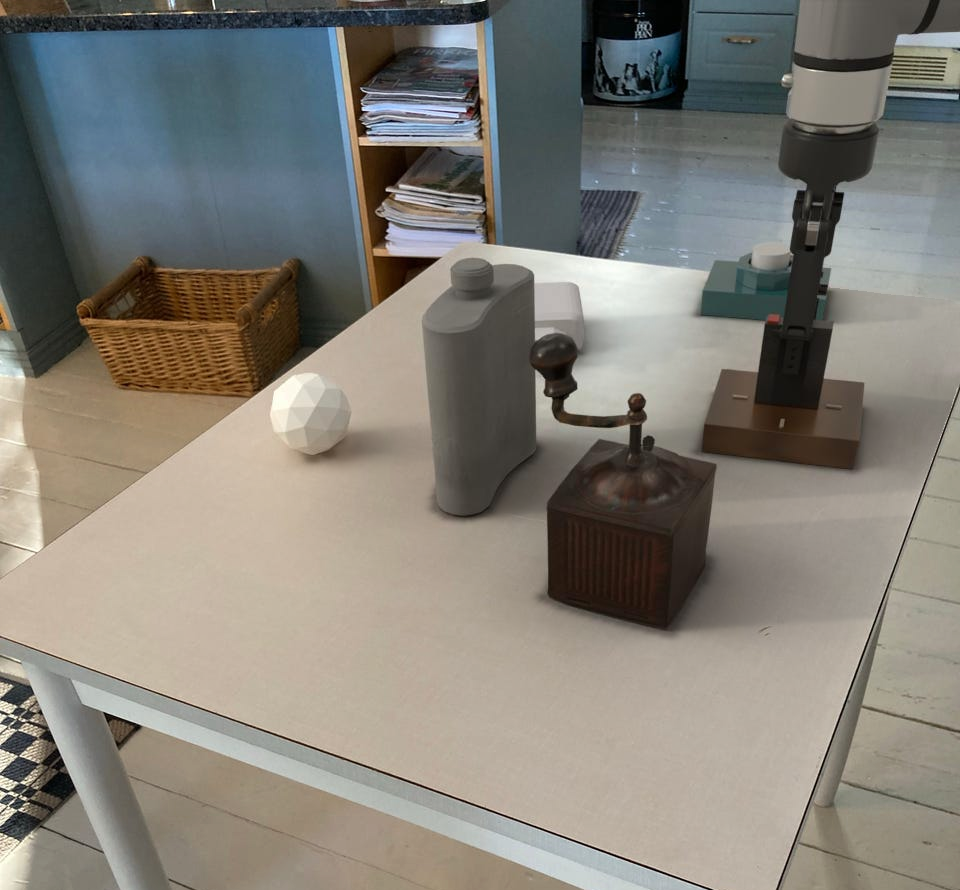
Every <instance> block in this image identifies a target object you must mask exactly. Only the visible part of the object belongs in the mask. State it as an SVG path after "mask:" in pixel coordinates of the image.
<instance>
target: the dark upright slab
mask: <svg viewBox="0 0 960 890" xmlns="http://www.w3.org/2000/svg"><path fill="white" fill-rule="evenodd" d="M783 319H784V317H780V315H774V314H769V316H767V317H766V320H764V327H763V334H762V339H761V340H762V341H761V346H760V355H759V362H758V368H757V369H758V370H757V372H758V376H757V383H756V390H755V397H754V403H761V404H771V405H780V406H790V407H800V408H809V409H818V407H819V401H820V396H821V390H822V385H823V380H824V379H825V375H826V369H827V362H828V356H829V352H830V347H831V341H832V336H833V330H834V323H835V322H834V320H823V319H822V320H813V324H812V330H813V335H812V340H811V346H810V352H809V358H808V364H807V369H806V375H805V381H804V387H803V393H802V399H801V404H800V405H793V404H784V403H774V402H770V400H771V393H772V387H773V380H774V373H775V367H776V360H777V353H778V347H779V340H780V337H773V330H780V329H781V327H782V326H783Z"/></svg>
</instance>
